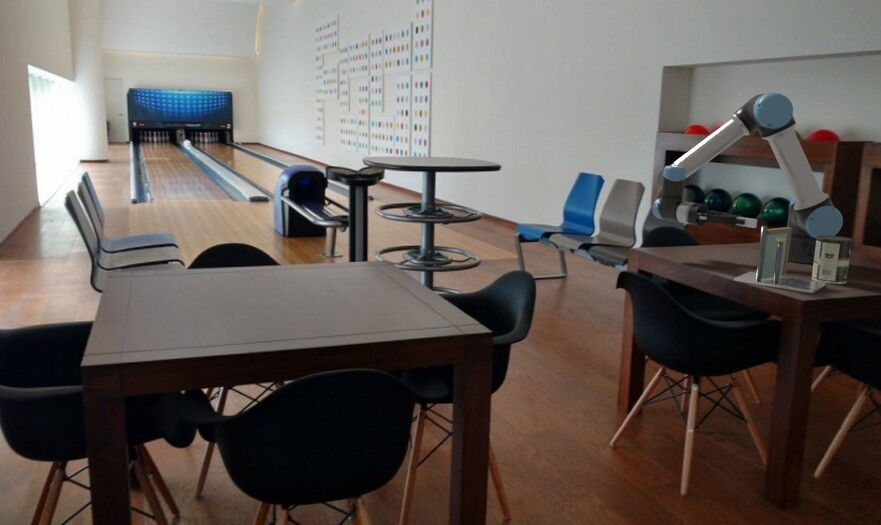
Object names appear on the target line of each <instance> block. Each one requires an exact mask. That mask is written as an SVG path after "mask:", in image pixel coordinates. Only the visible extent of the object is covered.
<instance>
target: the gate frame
mask: <svg viewBox="0 0 881 525" xmlns="http://www.w3.org/2000/svg"><path fill="white" fill-rule="evenodd" d="M767 229H768V226H761V230H760V239H759V245H758V257H757V265H756V272H755V271H754V272H753V271H747V272H746V273H742V274H741V275H739V276H736V277H733V281H734V282H739V283H740V282H741V283H747V284H753V285H758V286H764V287H769V288H771V287H772V288H776V289H783V290H790V291H794V292H801V293H802V292H803V293H806V294H807V293H809V294H815V293H816V292H817V291H818V290H820V289H821V288H824V287H826V283H822V282H817V281H814V280H807V279H801V278H795V277H789V276H779V274H780V266H781V258H782V250H783V242H785V238H784V237H777V239H776V241H778V243H777V252H776V260H775V268H774V277H772V278H766V279H761V276H762V268H763V259H764V251H765V242H766V234H767Z"/></svg>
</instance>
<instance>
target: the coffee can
mask: <svg viewBox="0 0 881 525" xmlns="http://www.w3.org/2000/svg"><path fill="white" fill-rule="evenodd" d="M816 239H817V240H816V248H815V256H814V263H812V264H813V266H812V272H811V273H812V274H811V281H815V282H822V283H825V284H829V285H844V284H847V280H848V273H849V266H850V258H851V252H852V246H853V245H852V244H853V240H854V239H853V238H850V237H847V236H838V235H837V236H836V235H834V236H825V235H824V236H817V237H816Z"/></svg>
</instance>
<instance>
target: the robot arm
mask: <svg viewBox="0 0 881 525" xmlns="http://www.w3.org/2000/svg"><path fill="white" fill-rule="evenodd" d="M793 115H794V107H793V103H792V102H791V99H789V97H787V96H786V95H784V94H782V93H779V92H767V93H761V94H757V95H755V96H753V97H752V98H750V99H748V101H747V102H745V103H744V104H743V105H742V106H741V107H739V109H738V110H736V111H734V113H732V114H731V116H730V119H729V120H727V121H726V122H725V123H724V124H722V125H721V126H720V127H718V128H717V129H715V131H713V132H712V133H711V134H709V135H708V136H706V137H705V138H704V139H702V140H701V141H700V142H698V143H697V144H696V145H694V146H693V147H692V148H691V149H690V150H688V151H687V152H686V153H684V154H682V155H681V157H679V158H678V159H676V160H675V161H673V163H671V164H669V165H665V167H664V168H663V169H661V170H660V171H658V172H657V174H656V176H655V177H656V178H655V179H656V184H657V185H658V187H660V188H661V196H660V198H657V199H656V200H655V201H654V204H653V205H652V214H653V216H654V217H655V218H657V219H660V220H663V221H669V222H675V223H682V224H683V226H687V225H692V226H698V227H703V226H704V225H706V224H707V223H709V224H711V223H712V224H720V225H727V226H730V225H731V228H735V226H739V227H746V228H750V229H751V228H752V229H756V228H757V226H758V219H756V218H751V217H750V218H749V217H744V216H741V215H742V214H737V215H736V214H731V213H726V212H723V211H721V212H720V211H716V210H711V209H710V210H709V207H708V205H706V204H703V203H696V202H691V201H684V200H683V199H684V192H685V183H686V179H687V178H689V177H691V175H692V174H694V173H695V172H697V171H698V170H700V169H701V168H703V166H705V165H706V164H707V163H709V162H710V161H712V160H713V159H714V158H715V157H717V156H718V155H719V154H721V153H722V152H723V151H725V150H727V149H728V148H729V147H730V146H731V145H733V144H735V143H736V142H737V141H738V140H740V139H741V138H742V137H744V136H750V135H751V134H752V133H754V132H756V131H758V133H759V135H760V137H761V139H762V140H766V141H767V142H768V144H769V145H770V148H771V150H772V152H773V154H774V157H775V159H776V161H777V163H778V165H779V168H780V169H781V172H782V174H783V177H784V179H785V180H786V183H787V185H788V187H789V190H790V191H791V194H792V197H793V198H791V199H790V203H789V206H788V209H789V210H788V217H787V225H786V227H790V228H792V232H791V239H790V247H789V255H788V262H793V263H799V264H800V263H801V264H814V256H815V248H816V240H817V239H816V237H817V236H824V235H825V236H836V235H837V234H838V233H839V232H840V230H841V228H842V227H843V222H844V220H843V219H844V217H843V216H842V213H841V211H840V210H839V209H838V208H836V207H835V206H834V204H833V202H832V199H831V197H830V196H829V193H826V192H823V191H822V190H821V187H820V185H819V184H818V183H819V182H818V181H817V179H816V177H815V173H814V172H813V170H812V168H811V165H810V163H809V161H808V158H807V156H806V154H805V151H804V150H803V147H802V145H801V143H800V141H799V139H798V136H797V134H796V131H795V128H796V125H797V122H796V119H795V118H794V116H793Z"/></svg>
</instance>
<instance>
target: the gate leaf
mask: <svg viewBox="0 0 881 525" xmlns="http://www.w3.org/2000/svg"><path fill="white" fill-rule="evenodd" d="M791 232H792V228H790V227H787V226H786V227H785V226H784V227H775V228H767V234H766V242H765V251H764V259H763V268H762V276H761V279H766V278H772V277H774V268H775V260H776V252H777V243H778V241H776V239H777V237H784V238H785V242H783V250H782V258H781V266H780V274H779V276H782V277H784V276H786V275H787V270H788V263H789V261H788V255H789V247H790V239H791Z"/></svg>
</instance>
